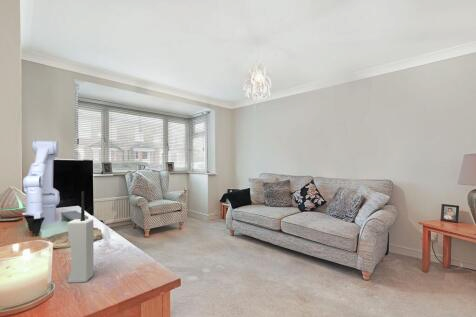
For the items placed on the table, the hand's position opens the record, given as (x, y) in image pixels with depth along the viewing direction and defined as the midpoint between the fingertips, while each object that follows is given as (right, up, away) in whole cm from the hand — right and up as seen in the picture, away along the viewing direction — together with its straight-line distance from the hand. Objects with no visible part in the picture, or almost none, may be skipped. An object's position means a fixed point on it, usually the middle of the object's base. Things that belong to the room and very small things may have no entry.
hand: (34, 232), depth 105 cm
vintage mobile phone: (+47, -1, -39) cm, 61 cm away
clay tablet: (+24, -2, -9) cm, 26 cm away
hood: (+10, -1, +12) cm, 15 cm away
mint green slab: (+5, -2, +5) cm, 8 cm away
